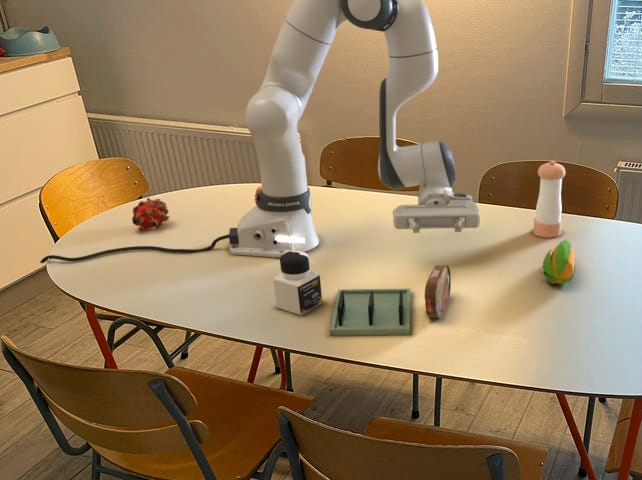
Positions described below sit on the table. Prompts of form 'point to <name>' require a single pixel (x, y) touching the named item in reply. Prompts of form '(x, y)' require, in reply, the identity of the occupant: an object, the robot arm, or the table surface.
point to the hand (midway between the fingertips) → (437, 229)
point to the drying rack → (371, 312)
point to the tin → (437, 291)
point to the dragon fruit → (150, 214)
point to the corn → (559, 263)
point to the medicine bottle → (297, 284)
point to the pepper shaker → (549, 201)
